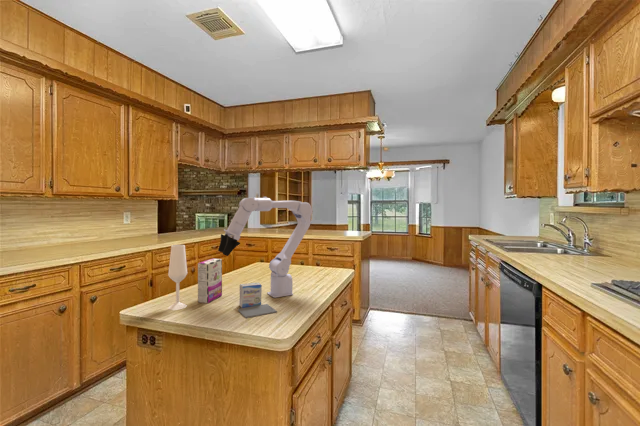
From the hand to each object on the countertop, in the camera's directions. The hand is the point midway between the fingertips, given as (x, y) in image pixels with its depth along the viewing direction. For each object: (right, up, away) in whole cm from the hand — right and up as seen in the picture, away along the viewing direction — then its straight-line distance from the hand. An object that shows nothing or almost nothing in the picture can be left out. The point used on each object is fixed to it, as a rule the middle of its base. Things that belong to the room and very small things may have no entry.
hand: (222, 253), depth 122 cm
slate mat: (+16, -21, -9) cm, 28 cm away
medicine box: (+12, -21, -3) cm, 24 cm away
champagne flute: (-15, -20, -6) cm, 26 cm away
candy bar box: (-7, -20, +4) cm, 22 cm away
